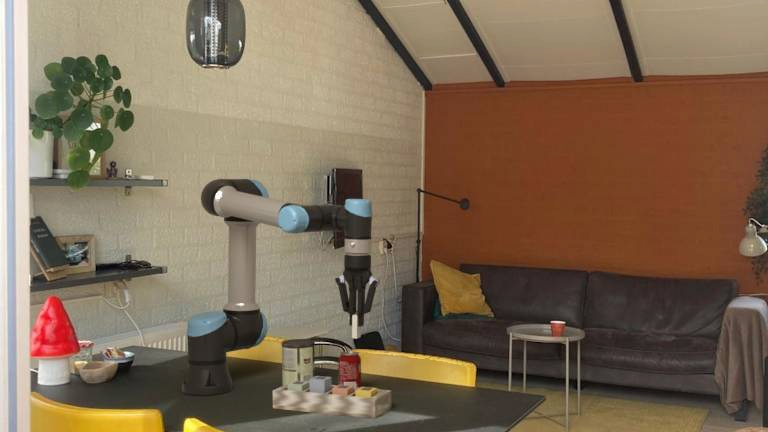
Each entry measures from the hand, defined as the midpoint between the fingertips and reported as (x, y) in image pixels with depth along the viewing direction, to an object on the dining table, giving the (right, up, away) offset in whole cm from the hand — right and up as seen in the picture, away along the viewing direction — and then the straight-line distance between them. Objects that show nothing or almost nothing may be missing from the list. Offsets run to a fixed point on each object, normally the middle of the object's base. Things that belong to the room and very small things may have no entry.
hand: (356, 337), depth 238 cm
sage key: (-17, -18, +3) cm, 25 cm away
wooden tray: (-7, -20, -1) cm, 21 cm away
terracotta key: (-4, -19, -2) cm, 19 cm away
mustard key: (+3, -19, -5) cm, 19 cm away
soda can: (-2, -19, +18) cm, 26 cm away
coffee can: (-19, -19, +26) cm, 37 cm away
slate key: (-10, -17, 0) cm, 19 cm away
